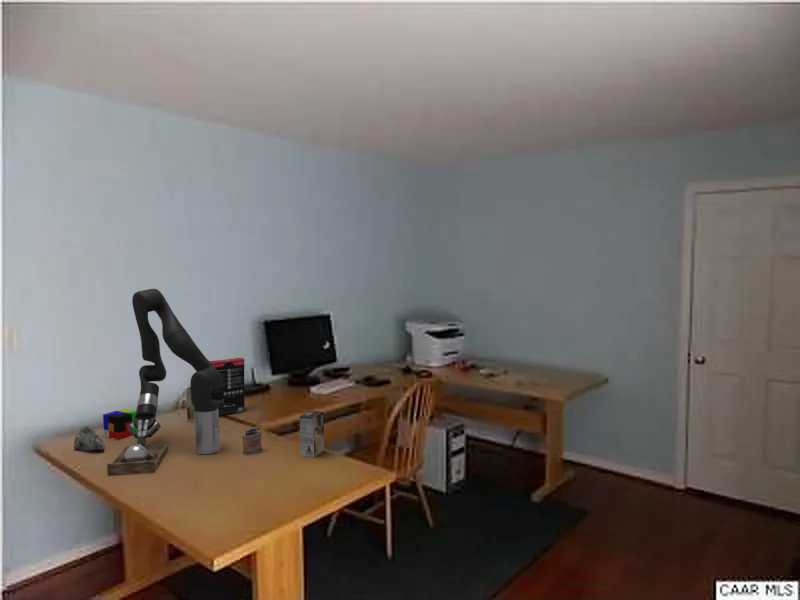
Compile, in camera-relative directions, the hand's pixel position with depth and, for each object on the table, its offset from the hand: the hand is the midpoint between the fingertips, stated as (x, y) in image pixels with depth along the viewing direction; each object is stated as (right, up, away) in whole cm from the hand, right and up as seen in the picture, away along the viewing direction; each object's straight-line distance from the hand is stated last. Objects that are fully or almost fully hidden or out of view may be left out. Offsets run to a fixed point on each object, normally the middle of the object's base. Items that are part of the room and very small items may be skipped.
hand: (140, 446), depth 226 cm
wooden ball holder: (0, -5, -2) cm, 6 cm away
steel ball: (+1, -2, -6) cm, 6 cm away
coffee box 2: (+66, -5, +8) cm, 66 cm away
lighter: (+41, -5, +9) cm, 42 cm away
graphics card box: (+15, 0, +64) cm, 65 cm away
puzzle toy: (-22, -3, +30) cm, 38 cm away
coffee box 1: (+5, -1, +53) cm, 53 cm away
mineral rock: (-26, -5, +11) cm, 29 cm away
